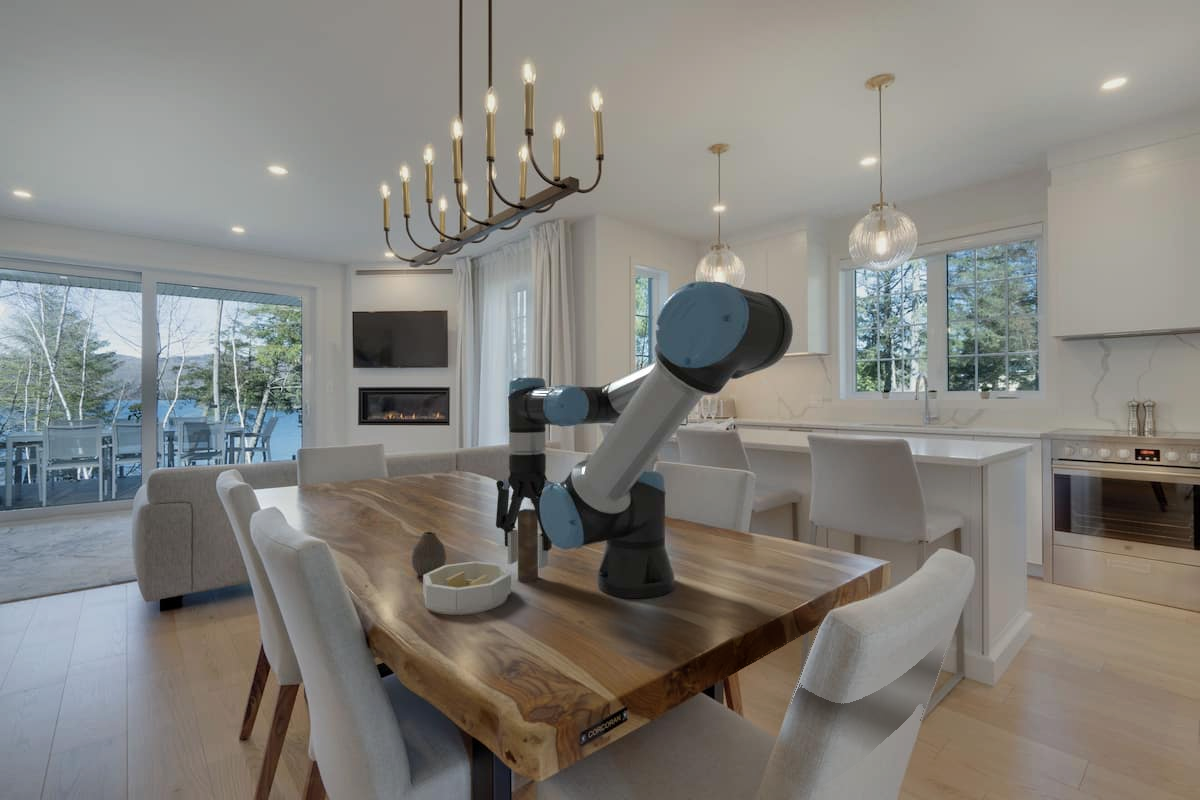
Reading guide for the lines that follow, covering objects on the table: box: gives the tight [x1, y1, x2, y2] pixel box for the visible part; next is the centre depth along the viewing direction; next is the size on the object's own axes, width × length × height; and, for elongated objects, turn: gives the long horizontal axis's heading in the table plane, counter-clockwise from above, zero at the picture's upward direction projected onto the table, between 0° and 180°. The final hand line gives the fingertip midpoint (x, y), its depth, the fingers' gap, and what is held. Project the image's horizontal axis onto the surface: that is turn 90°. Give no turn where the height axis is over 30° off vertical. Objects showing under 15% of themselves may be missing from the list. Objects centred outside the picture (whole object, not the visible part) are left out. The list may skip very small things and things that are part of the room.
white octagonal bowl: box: [422, 561, 512, 616], centre depth 100 cm, size 15×15×4 cm
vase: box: [411, 531, 447, 578], centre depth 114 cm, size 7×7×9 cm
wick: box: [517, 508, 539, 582], centre depth 111 cm, size 3×3×14 cm
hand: (527, 564), depth 111 cm, fingers open, 6 cm apart
